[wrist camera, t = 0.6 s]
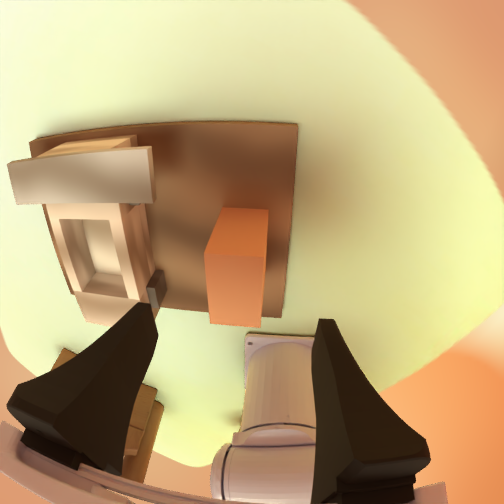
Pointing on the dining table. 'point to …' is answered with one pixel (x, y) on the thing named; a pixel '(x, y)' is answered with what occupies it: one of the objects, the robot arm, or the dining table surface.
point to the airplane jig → (157, 207)
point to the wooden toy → (135, 428)
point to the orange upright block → (237, 267)
